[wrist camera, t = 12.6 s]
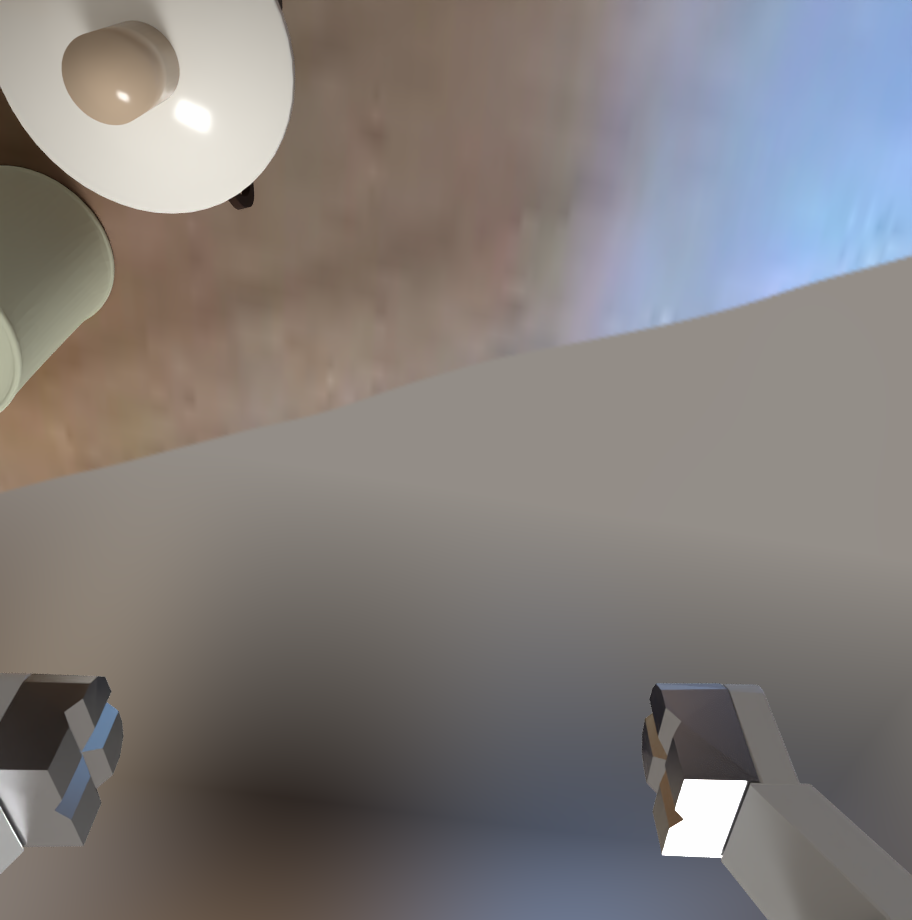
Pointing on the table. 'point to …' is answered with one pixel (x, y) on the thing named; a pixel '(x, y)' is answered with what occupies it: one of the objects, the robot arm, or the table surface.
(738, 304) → the table surface
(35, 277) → the can
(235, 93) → the lid
